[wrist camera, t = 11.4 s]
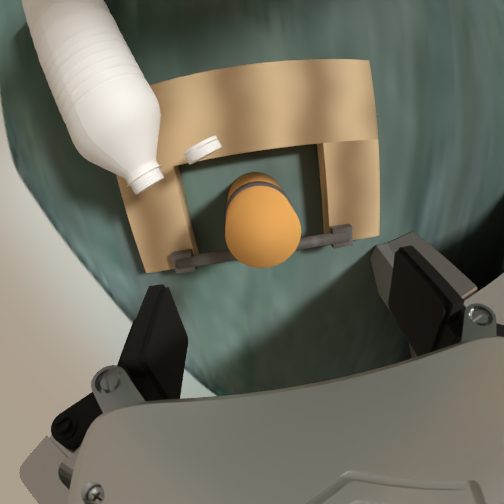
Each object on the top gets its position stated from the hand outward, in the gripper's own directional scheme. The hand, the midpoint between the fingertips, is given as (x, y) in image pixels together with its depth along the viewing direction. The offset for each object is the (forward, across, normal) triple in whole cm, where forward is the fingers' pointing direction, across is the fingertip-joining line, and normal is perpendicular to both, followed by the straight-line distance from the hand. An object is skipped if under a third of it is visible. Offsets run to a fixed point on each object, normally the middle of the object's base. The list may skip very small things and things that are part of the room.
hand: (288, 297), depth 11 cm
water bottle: (+13, +14, -27) cm, 33 cm away
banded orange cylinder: (+16, +1, +1) cm, 16 cm away
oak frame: (+16, +1, -2) cm, 16 cm away
